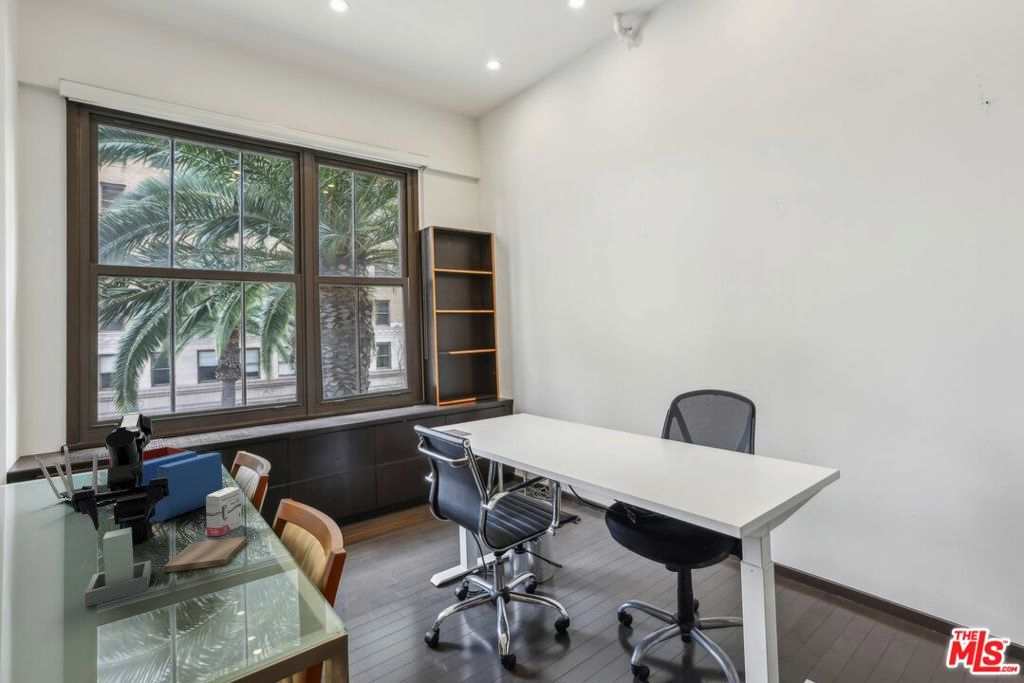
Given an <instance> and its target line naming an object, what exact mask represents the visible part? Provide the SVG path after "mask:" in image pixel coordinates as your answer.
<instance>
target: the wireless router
mask: <svg viewBox="0 0 1024 683" xmlns="http://www.w3.org/2000/svg"><path fill="white" fill-rule="evenodd" d="M63 451H64V461H65V471H66V476H65V474H64V472H63V470H62V467H61V465H60V464H59V463H57V462H55V461H54V460H53V461H52V462H53V464H54V466H55V468H56V470H57V472H58V474H59V477H60V479H61V482H62V483H63V485H64V488H65V490H66V491H63V492H59V490H58V488H57V487H56V485H55V483H54V482H53V479H52V478H51V475H50V473H49V472H48V470H47V468H46V466H45V465H44V463H43V461H42V459H41V458H40V457H38V456H37V455H33V456H34V458H35V460H36V461H37V463H38V466H39V467H40V469H41V471H42V473H43V475H44V476H45V478H46V480H47V482H48V483H49V486H50V488H51V489H52V491H53V493H54V495H55V497H56V498H57V500H58V499H61V498H65V497H66V498H69V499H71V500H72V495H73V494H74V493H75V492H78V491H84V490H90V489H94V490H95V493H96V494H98V493H104V492H109V489H108V488H107V483H106V484H99V485H98V453H94V455H93V456H92V457H93V459H92V480H91V481H92V482H91V483H92V484H91V485H83V486H81V488H76V489H75V488H74V481H73V480H74V479H73V474H72V467H71V466H72V465H71V460H70V453H69V448H68V446H67V445H65V446H63ZM112 500H114V499H112ZM106 501H109V500H106ZM101 502H105V501H101ZM101 502H97V503H101Z"/></svg>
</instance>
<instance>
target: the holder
mask: <svg viewBox="0 0 1024 683" xmlns="http://www.w3.org/2000/svg"><path fill="white" fill-rule="evenodd" d="M133 564H134V579H132V580H128V581H124V582H120V583H116V584H112V585H108V586H106V585H105V571H102V572H97V573H94V574H92V577H91V579H90V581H89V584H88V586H87V588H86V590H85V593H84V600H85V602H84V604H85V608H88V607H90V606H91V605H92V606H94V605H99V604H102V602H103V603H105V602H106V603H107V602H109V601H112V600H113V601H114V600H117V599H121V598H124V597H128V596H131V595H134V594H140V593H142V592H146V591H148V590H149V586H150V580H151V575H152V564H151V560H147V561H146V560H145V561H143V562H138V563H133Z"/></svg>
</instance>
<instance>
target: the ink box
mask: <svg viewBox="0 0 1024 683" xmlns="http://www.w3.org/2000/svg"><path fill="white" fill-rule="evenodd" d="M241 489H242V488H241V487H234V486H233V487H232V486H228V487H223V489H222V490H219V491H217V492H214V493H212V494H209V495H207V497H206V506H205V510H206V512H205V513H206V536H207V537H208V536H209V537H222V536H224V535H226V534H227V533H229V532H232V531H234V530H236V529H238V528H239V527H241V526H242V525H243V524H242V522H243V519H242V517H243V516H242V490H241ZM233 529H234V530H233ZM231 530H232V531H231Z"/></svg>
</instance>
